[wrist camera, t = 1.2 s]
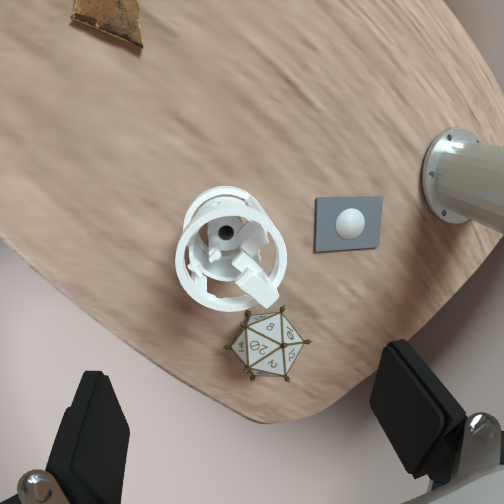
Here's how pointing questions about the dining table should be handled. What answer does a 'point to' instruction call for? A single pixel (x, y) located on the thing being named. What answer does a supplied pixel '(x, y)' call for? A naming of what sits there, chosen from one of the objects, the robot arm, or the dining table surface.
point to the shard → (111, 18)
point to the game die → (267, 344)
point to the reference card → (347, 223)
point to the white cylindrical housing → (227, 238)
